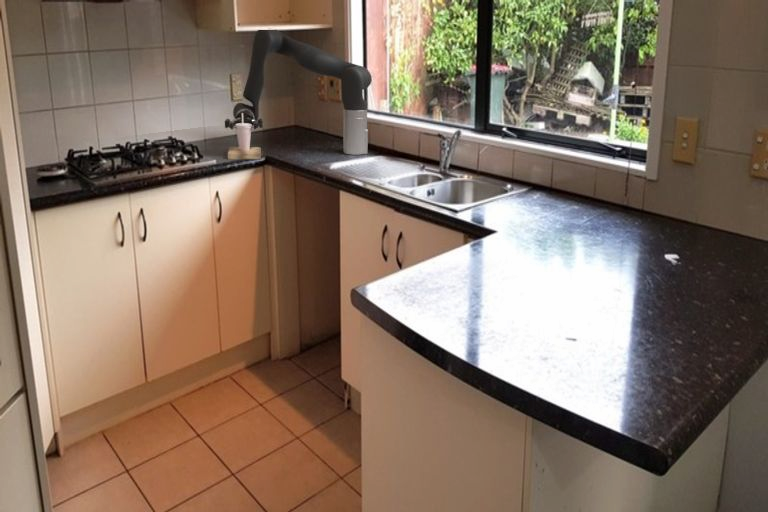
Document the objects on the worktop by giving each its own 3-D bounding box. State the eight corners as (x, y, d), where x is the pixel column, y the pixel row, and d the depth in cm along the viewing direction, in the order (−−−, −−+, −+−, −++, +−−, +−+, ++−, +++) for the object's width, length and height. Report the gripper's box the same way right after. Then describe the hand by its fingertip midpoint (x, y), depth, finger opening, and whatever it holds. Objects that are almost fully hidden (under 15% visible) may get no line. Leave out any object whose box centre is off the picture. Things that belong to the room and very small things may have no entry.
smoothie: (232, 150, 271) (231, 113, 266) (243, 147, 276) (241, 111, 272) (245, 152, 268) (244, 114, 264) (256, 149, 274) (255, 112, 269)
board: (260, 152, 279) (260, 146, 279) (260, 158, 268) (260, 153, 268) (229, 152, 278) (229, 146, 277) (228, 159, 266) (227, 153, 266)
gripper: (225, 110, 280) (223, 116, 265) (262, 110, 282) (262, 116, 267) (227, 129, 283) (224, 136, 267) (263, 128, 285) (262, 136, 270)
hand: (243, 126), depth 267 cm, fingers open, 8 cm apart
